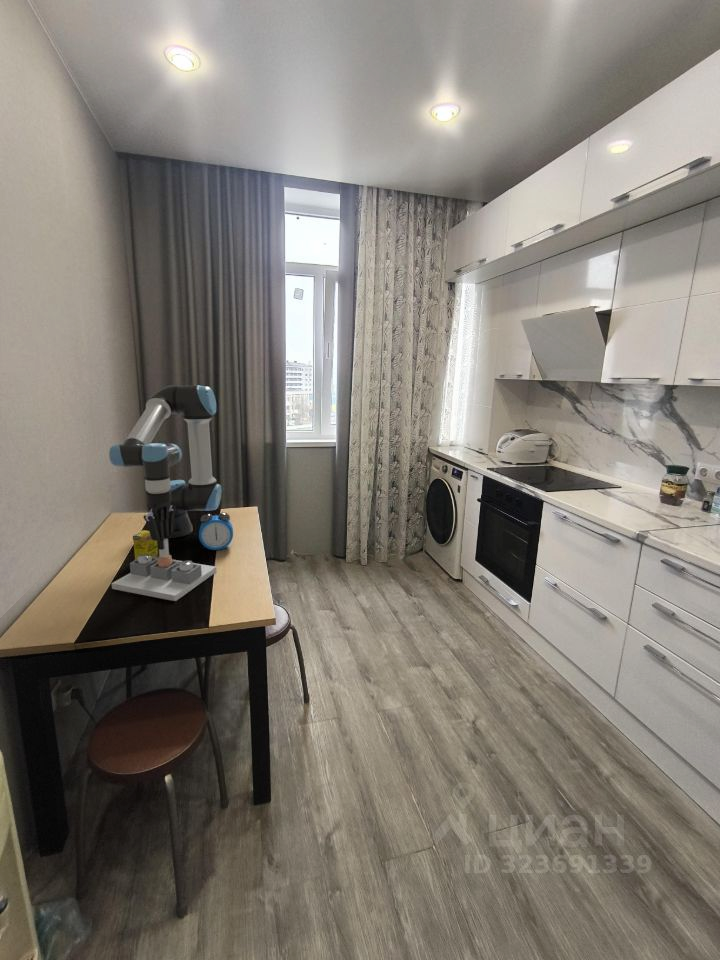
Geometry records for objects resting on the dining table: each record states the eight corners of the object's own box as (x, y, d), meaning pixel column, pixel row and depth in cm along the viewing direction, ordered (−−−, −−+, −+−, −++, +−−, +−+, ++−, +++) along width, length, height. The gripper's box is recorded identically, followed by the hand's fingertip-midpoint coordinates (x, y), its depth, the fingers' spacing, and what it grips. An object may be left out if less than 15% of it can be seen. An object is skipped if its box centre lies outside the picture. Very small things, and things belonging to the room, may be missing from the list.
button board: (159, 562, 165) (157, 547, 164) (216, 571, 159) (215, 556, 157) (112, 588, 145) (110, 572, 143) (175, 601, 138) (174, 584, 137)
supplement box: (149, 564, 163) (146, 537, 161) (135, 562, 165) (131, 535, 162) (159, 557, 169) (156, 531, 166) (145, 556, 170) (142, 529, 168)
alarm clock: (200, 552, 175) (197, 517, 171) (200, 546, 181) (198, 512, 177) (233, 549, 179) (232, 514, 175) (233, 543, 184) (231, 510, 181)
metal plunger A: (145, 566, 156) (143, 553, 155) (155, 567, 155) (154, 554, 154) (135, 571, 152) (134, 557, 151) (146, 573, 151) (145, 559, 150)
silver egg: (185, 573, 151) (184, 559, 150) (196, 574, 150) (195, 561, 149) (177, 578, 147) (176, 564, 146) (188, 580, 146) (187, 566, 145)
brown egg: (165, 567, 154) (163, 553, 152) (175, 568, 152) (174, 555, 151) (156, 572, 149) (154, 558, 148) (166, 574, 148) (165, 560, 147)
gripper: (162, 484, 151) (168, 548, 157) (134, 494, 139) (141, 562, 144) (181, 487, 149) (186, 551, 155) (153, 496, 137) (160, 566, 142)
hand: (164, 556), depth 150 cm, fingers closed
